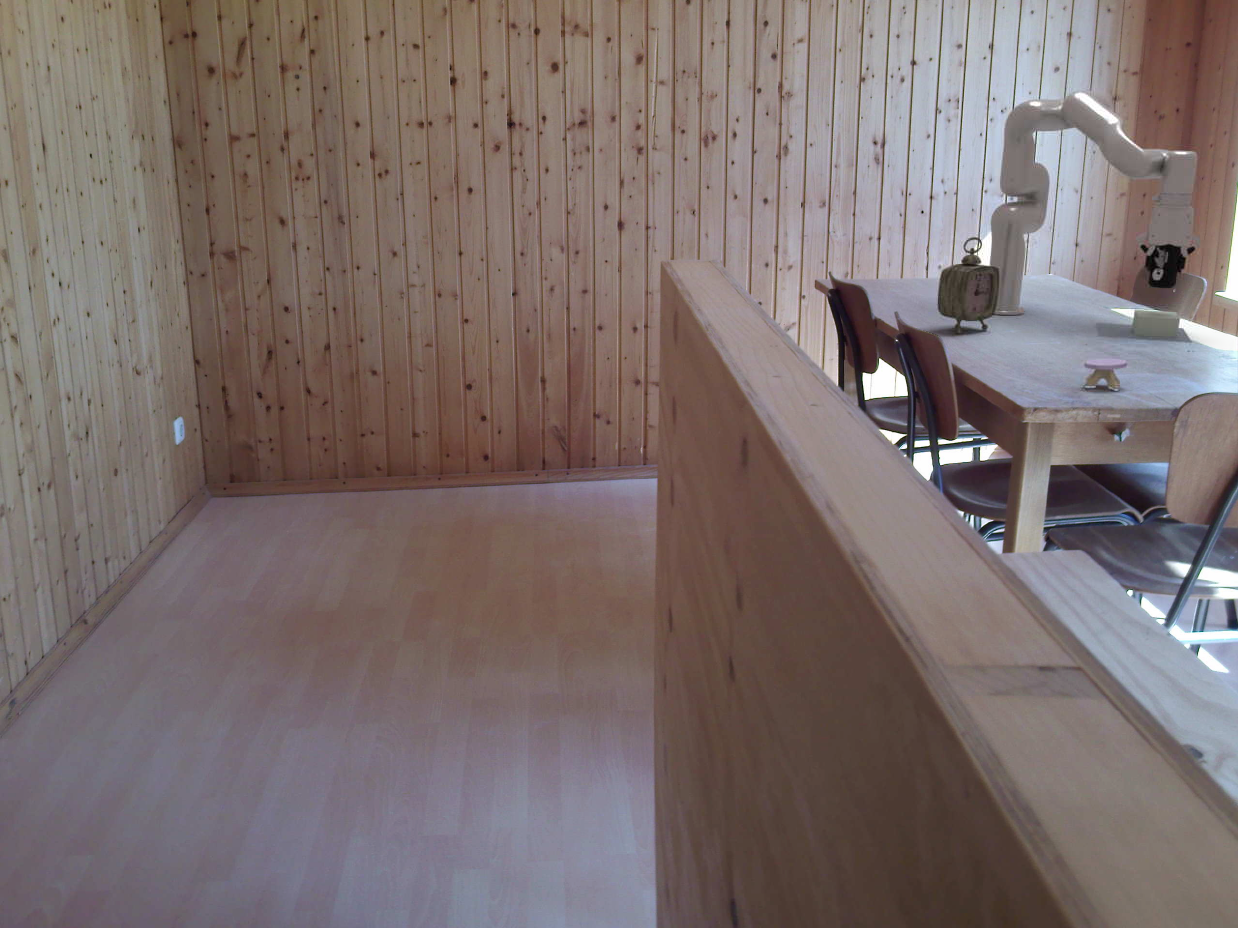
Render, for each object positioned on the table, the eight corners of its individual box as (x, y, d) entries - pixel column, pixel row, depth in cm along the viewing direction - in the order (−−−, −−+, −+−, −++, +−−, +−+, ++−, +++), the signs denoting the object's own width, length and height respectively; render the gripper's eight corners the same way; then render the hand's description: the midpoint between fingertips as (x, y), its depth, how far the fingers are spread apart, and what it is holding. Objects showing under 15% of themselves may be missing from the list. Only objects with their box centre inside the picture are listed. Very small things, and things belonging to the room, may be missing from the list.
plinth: (1135, 335, 294) (1137, 316, 293) (1132, 328, 303) (1134, 309, 302) (1177, 337, 291) (1180, 318, 290) (1172, 330, 300) (1175, 312, 299)
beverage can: (1178, 289, 290) (1185, 242, 286) (1150, 288, 291) (1158, 241, 287) (1171, 285, 296) (1178, 239, 292) (1144, 284, 297) (1151, 238, 294)
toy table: (1111, 381, 250) (1115, 356, 248) (1135, 391, 241) (1139, 365, 240) (1070, 383, 248) (1074, 357, 247) (1093, 393, 240) (1096, 366, 238)
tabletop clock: (958, 336, 296) (967, 240, 289) (931, 330, 304) (940, 237, 296) (994, 330, 304) (1004, 237, 296) (967, 325, 311) (977, 234, 304)
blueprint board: (1098, 339, 293) (1099, 336, 293) (1094, 326, 311) (1095, 322, 311) (1191, 346, 286) (1192, 342, 286) (1182, 331, 304) (1182, 328, 304)
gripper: (1138, 201, 286) (1128, 271, 292) (1214, 203, 281) (1202, 275, 286) (1136, 198, 293) (1126, 267, 298) (1210, 201, 287) (1198, 271, 293)
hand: (1163, 270), depth 292 cm, fingers closed on beverage can, 6 cm apart
